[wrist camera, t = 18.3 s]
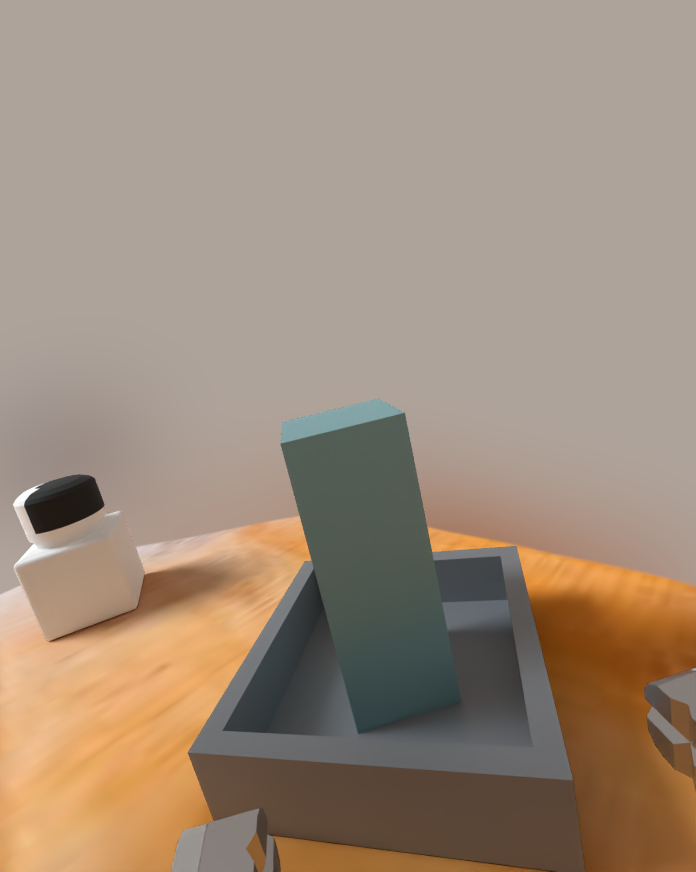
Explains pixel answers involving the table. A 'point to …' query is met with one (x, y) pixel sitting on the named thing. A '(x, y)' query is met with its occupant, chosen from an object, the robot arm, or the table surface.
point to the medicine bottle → (75, 557)
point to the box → (402, 735)
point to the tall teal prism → (372, 559)
